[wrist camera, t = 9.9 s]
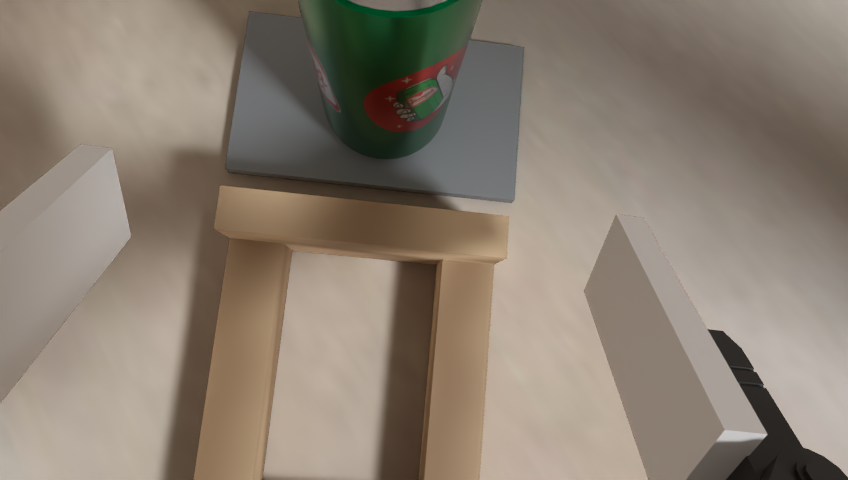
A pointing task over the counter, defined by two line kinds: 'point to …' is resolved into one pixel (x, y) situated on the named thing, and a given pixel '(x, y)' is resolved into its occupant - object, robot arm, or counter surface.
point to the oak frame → (358, 237)
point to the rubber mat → (336, 163)
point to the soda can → (387, 68)
